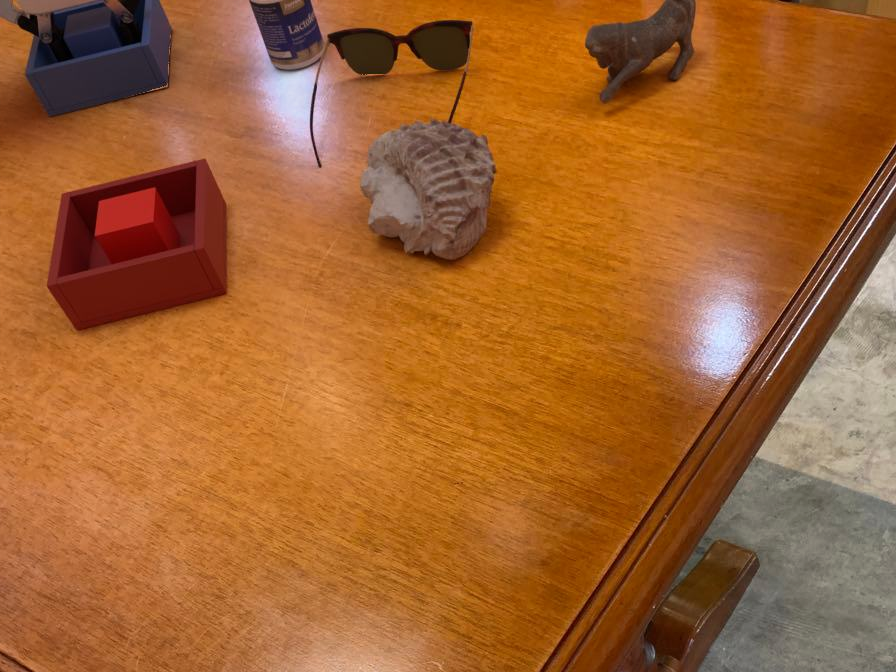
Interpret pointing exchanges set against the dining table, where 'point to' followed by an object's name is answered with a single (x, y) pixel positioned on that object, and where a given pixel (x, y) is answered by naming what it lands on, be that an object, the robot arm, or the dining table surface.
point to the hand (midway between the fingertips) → (108, 62)
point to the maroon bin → (146, 278)
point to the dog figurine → (642, 43)
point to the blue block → (93, 32)
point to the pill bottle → (289, 32)
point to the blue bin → (102, 65)
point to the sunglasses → (379, 50)
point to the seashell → (430, 187)
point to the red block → (135, 226)
